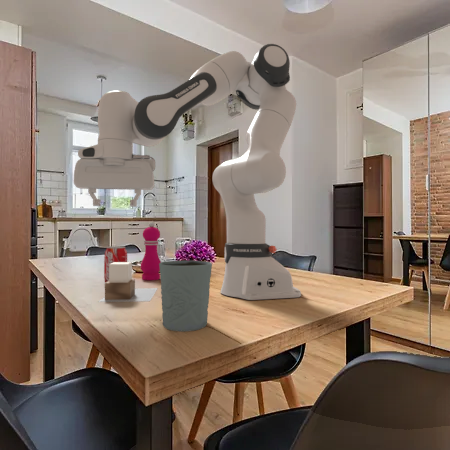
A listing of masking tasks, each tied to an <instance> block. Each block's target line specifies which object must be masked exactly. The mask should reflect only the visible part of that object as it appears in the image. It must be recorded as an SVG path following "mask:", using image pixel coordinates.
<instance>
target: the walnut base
mask: <svg viewBox="0 0 450 450" xmlns="http://www.w3.org/2000/svg"><path fill="white" fill-rule="evenodd" d="M135 288H136V278H132V280H130V281H129V282H128V283H109V281H108V282H106V283H105V282H104V297H105V300H127V299H131V298H132V297H133V296H134V295H135Z"/></svg>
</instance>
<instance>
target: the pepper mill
mask: <svg viewBox="0 0 450 450" xmlns="http://www.w3.org/2000/svg"><path fill="white" fill-rule="evenodd" d="M154 226H155V223H154V222H149V223H148V227H145V228H144V230H143V231H142V237H143V239H144V240H143V242H144V243H143V245H145V246H144V247H145V251H144V255H143V258H142V260H141V262H140V270H141V271H142V272H143V273H142V274H141V280H142V281H157V280H161V279H160V266H159V264H160V263H161V262H162V261H161V259H160V256H159V254H158V253H159V252H158V245H159V242H160V241H159V240H158V239H160V237H161V232H160V230H159V229H158V228H157V227H154Z"/></svg>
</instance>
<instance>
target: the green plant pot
mask: <svg viewBox="0 0 450 450" xmlns="http://www.w3.org/2000/svg"><path fill="white" fill-rule="evenodd" d="M159 266H160V271H159V274H160V279H159V280H160V289H161V291H160V295H161V311H162V316H161V317H162V325H163V327H164V329H166V330H169V331H174V332H194V331H198V330H201V329H204V328H205V327H206V326H207V323H208V317H209V315H208V314H209V312H208V309H209V303H210V302H209V301H210V289H211V288H210V287H211V286H210V284H211V276H212V268H213V267H212V266H213V263H212V262H210V261H205V260H204V261H202V260H167V261H161V263H160V264H159Z"/></svg>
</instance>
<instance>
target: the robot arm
mask: <svg viewBox="0 0 450 450" xmlns="http://www.w3.org/2000/svg"><path fill="white" fill-rule="evenodd" d="M290 66H291V65H290V57H289V54H288V52H287V51H286V50H285V49H284V48H283V47H282V46H280V45H279V44H276V43H275V44H274V43H267V44H265V45H263V46H262V47H260V48H259V50H258V51H257V52H256V53H255V55H254V57H253V60H252V62H249V61H248V60H247V59H246V58H245V56H244V55H243V54H242V53H241V52H238V51H236V50H231V51H228V52H226V53H223V54H219V55H218V56H215V57H214V58H212V59H210V60H209V61H208V62H206V63H205V64H203V65H202V66H200V67H199V68H198V69H197V70H196V71H195V72H194V73H193V74H192V75H191V76H190V78H189V79H188V80H187V81H185V82H183V83H182V84H180V85H179V86H177V87H175V88H173V89H172V90H170V91H168V92H166V93H162V94H161V93H160V94H154V95H148V96H146V97H144V98H142V99H141V100H140V101H139V102H138V101H137V100H136V99H134V98H133V97H132V96H131V94H130V93H129V92H127V91H126V90H125V91H124V90H120V89H119V90H110V91H107V92H105V93H104V94H103V95H102V96H101V97H100V99H99V103H98V108H97V109H98V110H97V126H98V127H97V128H98V131H99V132H98V134H99V135H98V138H97V144H94V145H91V146H87V147H84V148H83V147H82V148H80V149H78V151H77V155H78V158H79V159H78V160H76V163H75V165H74V173H73V184H74V187H76V188H78V189H80V190H81V189H83V190H85V189H86V190H88V194H89V196H90V198H91V199H92V205H93V207H101V199H99V198H97V196H96V194H97V190H131V191H133V190H134V191H133V192H134V194H135V196H134V197H133V199H129V203H130V204H129V206H130V207H133V208H134V207H137V206H138V200H139V199H140V196H141V195H142V190H143V191H152V190H153V189H154V188H155V175H154V171H156V170H155V169H156V160H155V158H153V157H152V156H150V155H149V154H144V155H142V154H134V153H133V152H134V144H136V145H138V146H144V147H149V148H151V147H155V146H158V145H159V144H160V143H162V141H164V139H165V138H166V137H168V136H169V134H171V133H172V132H173V131H174V130H175V127H176V125H177V123H178V121H179V120H180V118H181V117H182V116H183V115H185V114H186V113H187V112H189V111H190V110H192V109H193V108H195V107H197V106H198V105H203V106H206V107H210V106H213V105H215V104H218V103H219V102H221V101H223V100H224V99H226V98H228V96H230V95H231V94H233V93H234V92H235V94H236V96H237V98H239V99H240V100H241V101H242V103H243V104H244V105H245V106H247V107H248V108H250V109H252V110H257V111H256V113H255V115H254V117H253V119H252V122H251V123H250V125H249V127H248V129H247V131H246V133H245V141H246V143H247V147H248V148H247V149H246V152H244V154H243V155H241V156H238V157H235V158H231V159H228V160H225V161H224V162H222V163H221V164H219V165H218V166H217V167H216V168H215V169H214V171H213V172H212V180H211V181H212V185H213V187H214V189H215V190H216V191H217V192H218V194H219V195H220V197H221V200H222V202H223V203H222V204H223V206H224V210H225V217H226V218H225V219H226V242H225V243H224V262H225V268H224V273H223V274H224V276H223V279H222V280H223V281H222V284H221V285H222V286H221V289H220V293H221V294H222V295H224V296H228V297H232V298H233V297H234V298H239V299H243V300H247V301H256V300H272V299H273V300H274V299H277V300H278V299H289V298H290V299H291V298H292V299H293V298H300V297H301V296H302V291H301V290H300V289H299V288H297V287H295V286H294V283H293V278H292V273H291V272H290V271H289V270H288V269H287V268H286V266H284V265H282V264H281V263H280V262H279V261H278V260H277V259H275V258H274V257H273V254H276V252H277V250H278V249H277V247H276V245H269V244H268V243H267V242H266V229H267V228H266V223H267V222H266V221H267V220H266V219H267V218H266V216H265V214H264V213H263V211H261V210H260V209H259V207H258V204H257V203H256V199H255V195H256V194H265V193H268V192H271V191H273V190H275V189H277V188H279V187H281V186H282V184H283V183H284V181H285V178H286V173H287V171H286V165H285V162H284V160H283V157H281V156H280V155H281V148H282V146H283V144H284V142H285V140H286V137H287V135H288V132H289V131H290V128H291V126H292V123H293V121H294V117H295V113H296V108H297V101H296V98H295V96H294V95H293V93H292V92H290V91H289V90H287V87H286V85H287V84H288V83H290V81H291V79H290V78H291V77H290Z"/></svg>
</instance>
